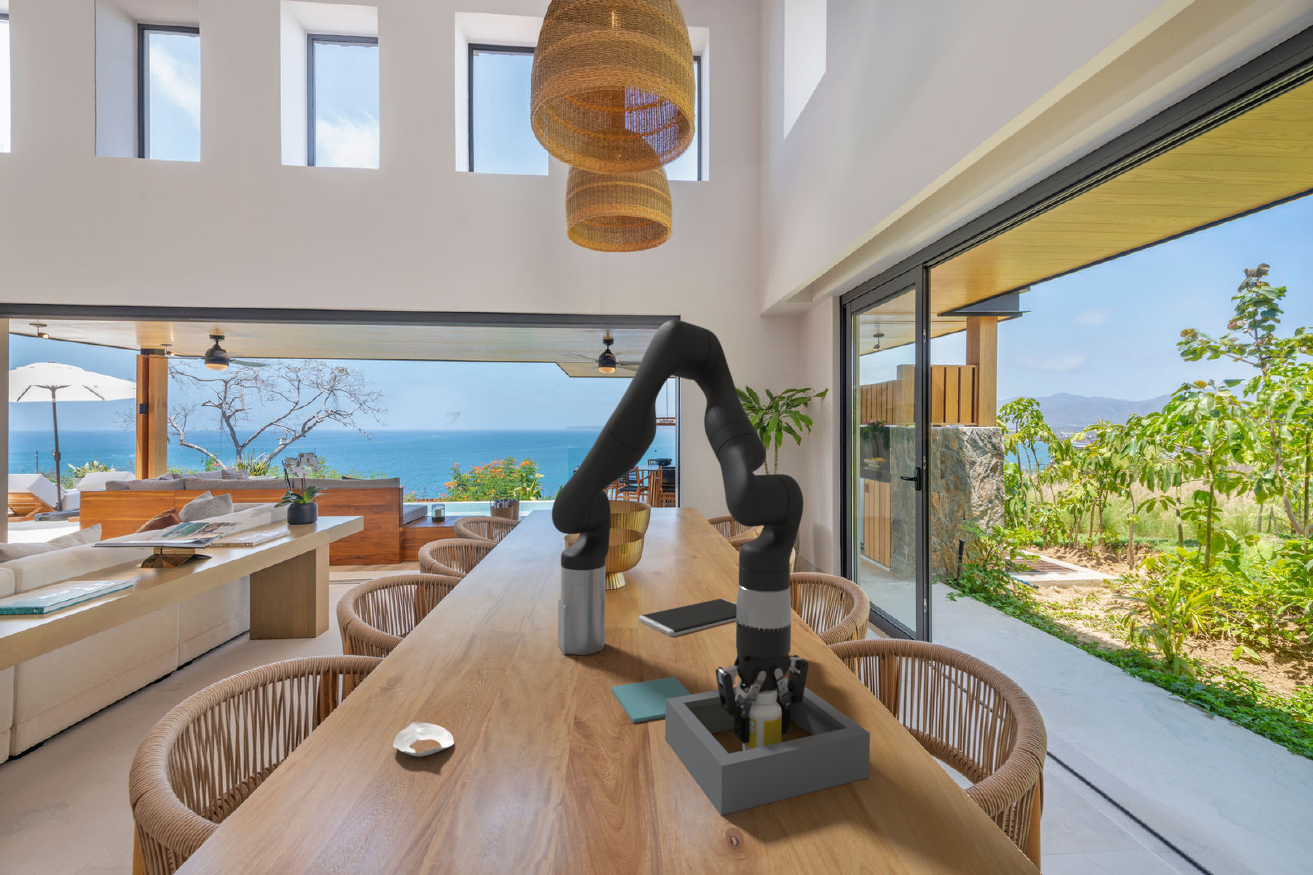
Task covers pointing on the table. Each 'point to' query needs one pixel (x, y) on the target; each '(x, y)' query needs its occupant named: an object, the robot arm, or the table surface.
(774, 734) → the supplement bottle
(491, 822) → the table surface
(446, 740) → the white seashell fragment
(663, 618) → the smartphone
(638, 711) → the mat
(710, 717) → the box
